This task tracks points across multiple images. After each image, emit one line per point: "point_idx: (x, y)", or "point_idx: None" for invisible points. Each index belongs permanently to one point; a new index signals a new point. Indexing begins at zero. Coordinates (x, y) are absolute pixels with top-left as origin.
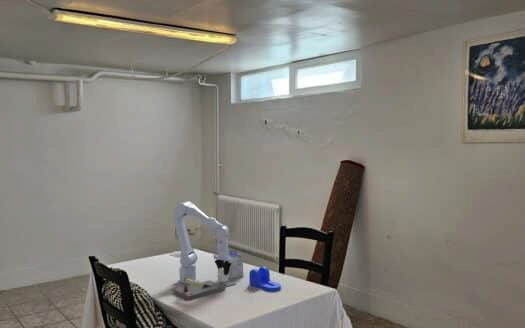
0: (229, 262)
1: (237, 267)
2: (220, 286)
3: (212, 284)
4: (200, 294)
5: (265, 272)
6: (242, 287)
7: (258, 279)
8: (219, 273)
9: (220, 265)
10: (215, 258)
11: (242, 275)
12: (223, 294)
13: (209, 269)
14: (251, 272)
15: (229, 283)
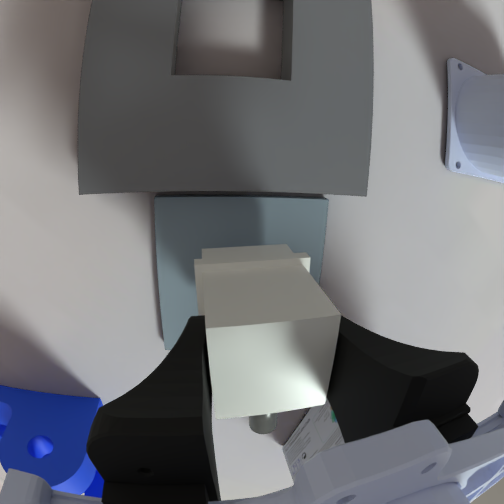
0: (25, 481)
1: None
2: (99, 150)
3: (227, 123)
4: None
5: None
6: (68, 334)
7: (8, 429)
8: (275, 284)
9: (352, 389)
10: (499, 411)
11: (285, 448)
12: (15, 114)
13: (501, 350)
14: (55, 469)
15: (197, 313)
